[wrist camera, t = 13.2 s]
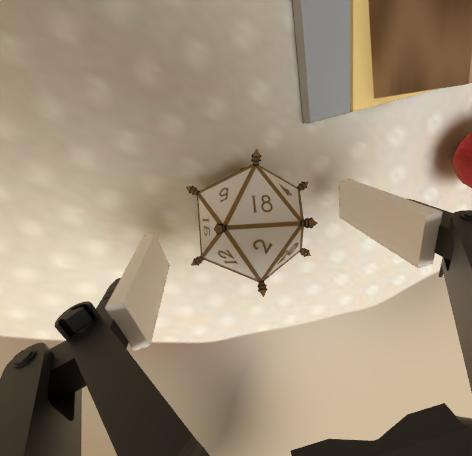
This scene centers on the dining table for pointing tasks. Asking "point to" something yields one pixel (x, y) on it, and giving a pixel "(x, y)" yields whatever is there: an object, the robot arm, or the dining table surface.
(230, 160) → the dining table surface
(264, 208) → the game die
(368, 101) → the board
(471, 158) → the red oval piece
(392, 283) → the dining table surface
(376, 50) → the walnut slab
